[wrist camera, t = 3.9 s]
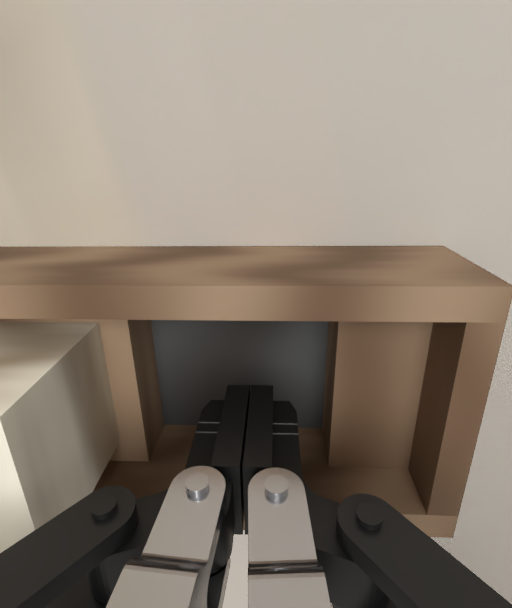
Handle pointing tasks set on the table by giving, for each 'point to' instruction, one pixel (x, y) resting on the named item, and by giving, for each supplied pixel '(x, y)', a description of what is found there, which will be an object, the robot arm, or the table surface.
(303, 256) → the tray
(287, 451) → the robot arm
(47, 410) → the cream cube
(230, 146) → the table surface
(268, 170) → the table surface
